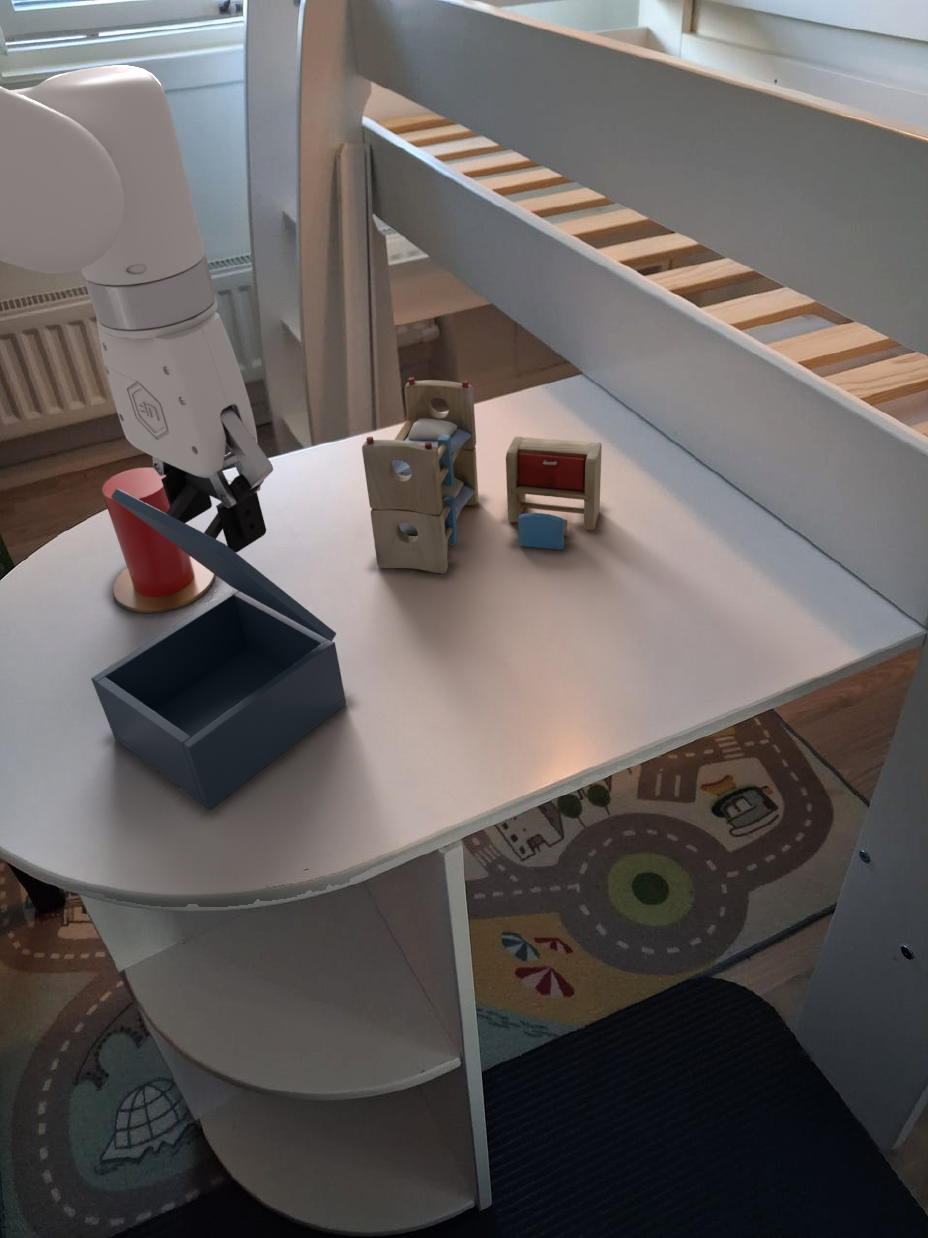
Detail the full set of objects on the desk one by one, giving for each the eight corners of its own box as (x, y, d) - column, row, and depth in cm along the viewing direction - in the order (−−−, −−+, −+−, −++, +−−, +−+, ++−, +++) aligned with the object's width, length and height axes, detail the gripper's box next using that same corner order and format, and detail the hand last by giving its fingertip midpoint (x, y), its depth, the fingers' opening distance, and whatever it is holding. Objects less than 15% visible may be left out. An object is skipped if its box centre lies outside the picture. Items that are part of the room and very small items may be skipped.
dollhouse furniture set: (577, 589, 94) (579, 458, 85) (377, 567, 99) (359, 441, 90) (599, 509, 105) (603, 385, 96) (417, 493, 109) (405, 374, 101)
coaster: (128, 625, 94) (127, 622, 94) (103, 574, 101) (102, 571, 100) (228, 589, 97) (228, 586, 97) (197, 542, 104) (196, 539, 104)
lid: (217, 553, 66) (262, 487, 67) (109, 496, 73) (151, 437, 74) (331, 642, 79) (368, 585, 80) (231, 586, 86) (265, 535, 87)
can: (142, 604, 96) (110, 507, 89) (126, 574, 100) (94, 479, 93) (202, 583, 98) (175, 487, 91) (184, 554, 102) (157, 460, 95)
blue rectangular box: (209, 810, 75) (188, 748, 71) (114, 739, 82) (90, 678, 78) (346, 703, 83) (335, 642, 79) (250, 646, 90) (234, 587, 86)
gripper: (28, 287, 65) (112, 516, 76) (189, 344, 56) (257, 595, 67) (123, 250, 69) (190, 473, 81) (287, 297, 60) (336, 541, 71)
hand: (220, 526), depth 74 cm, fingers closed on lid, 5 cm apart
